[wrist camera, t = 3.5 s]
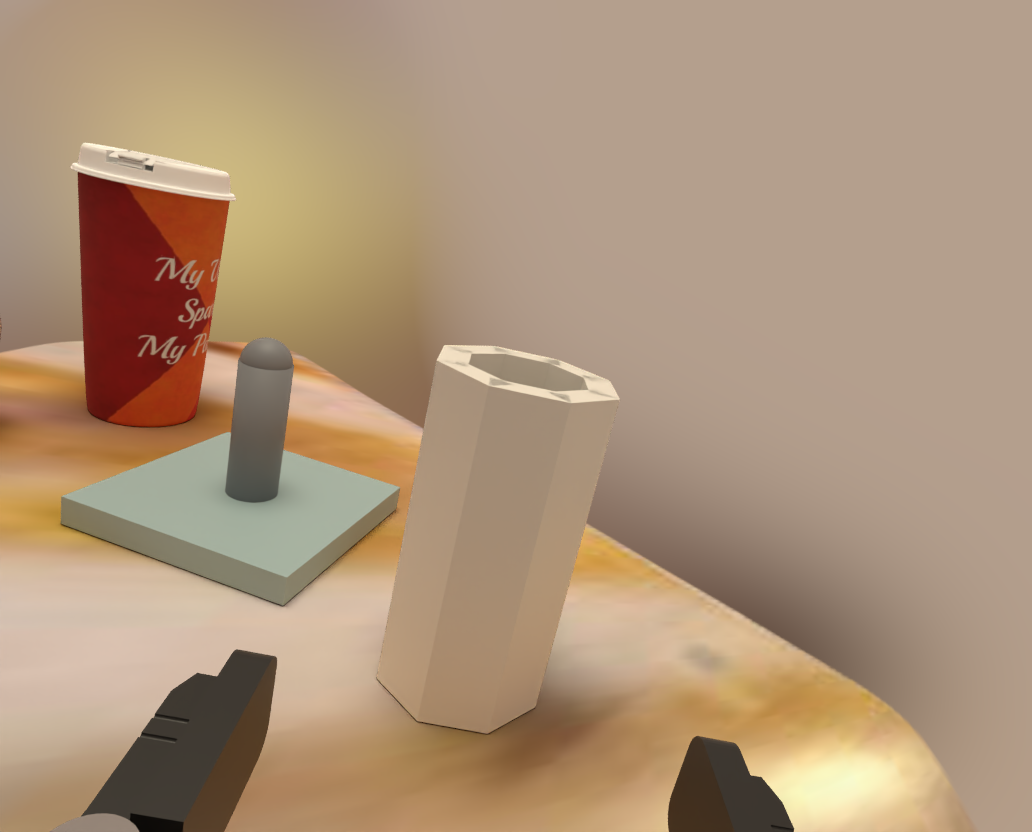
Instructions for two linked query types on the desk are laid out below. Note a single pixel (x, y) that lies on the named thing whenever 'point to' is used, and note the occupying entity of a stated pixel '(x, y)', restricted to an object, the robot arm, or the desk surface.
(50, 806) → the desk surface
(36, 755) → the desk surface
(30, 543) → the desk surface
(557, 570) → the white octagonal tube
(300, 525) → the peg stand
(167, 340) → the paper cup
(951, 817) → the desk surface
